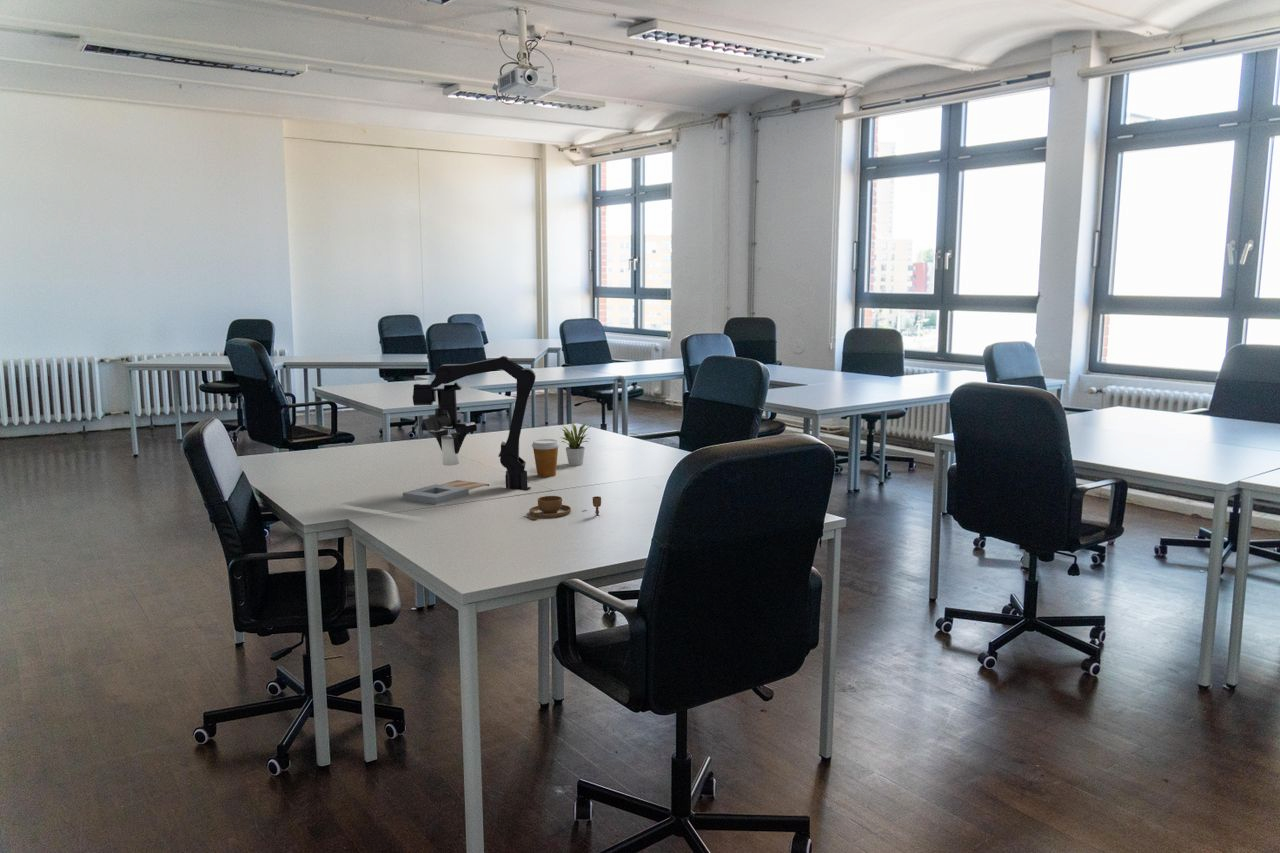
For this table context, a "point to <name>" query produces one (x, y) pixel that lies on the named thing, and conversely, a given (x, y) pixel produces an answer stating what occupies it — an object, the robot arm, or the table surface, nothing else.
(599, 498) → the place setting
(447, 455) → the cylinder
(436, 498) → the frame
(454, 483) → the walnut board
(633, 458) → the table surface
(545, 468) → the disposable coffee cup
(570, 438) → the house plant
